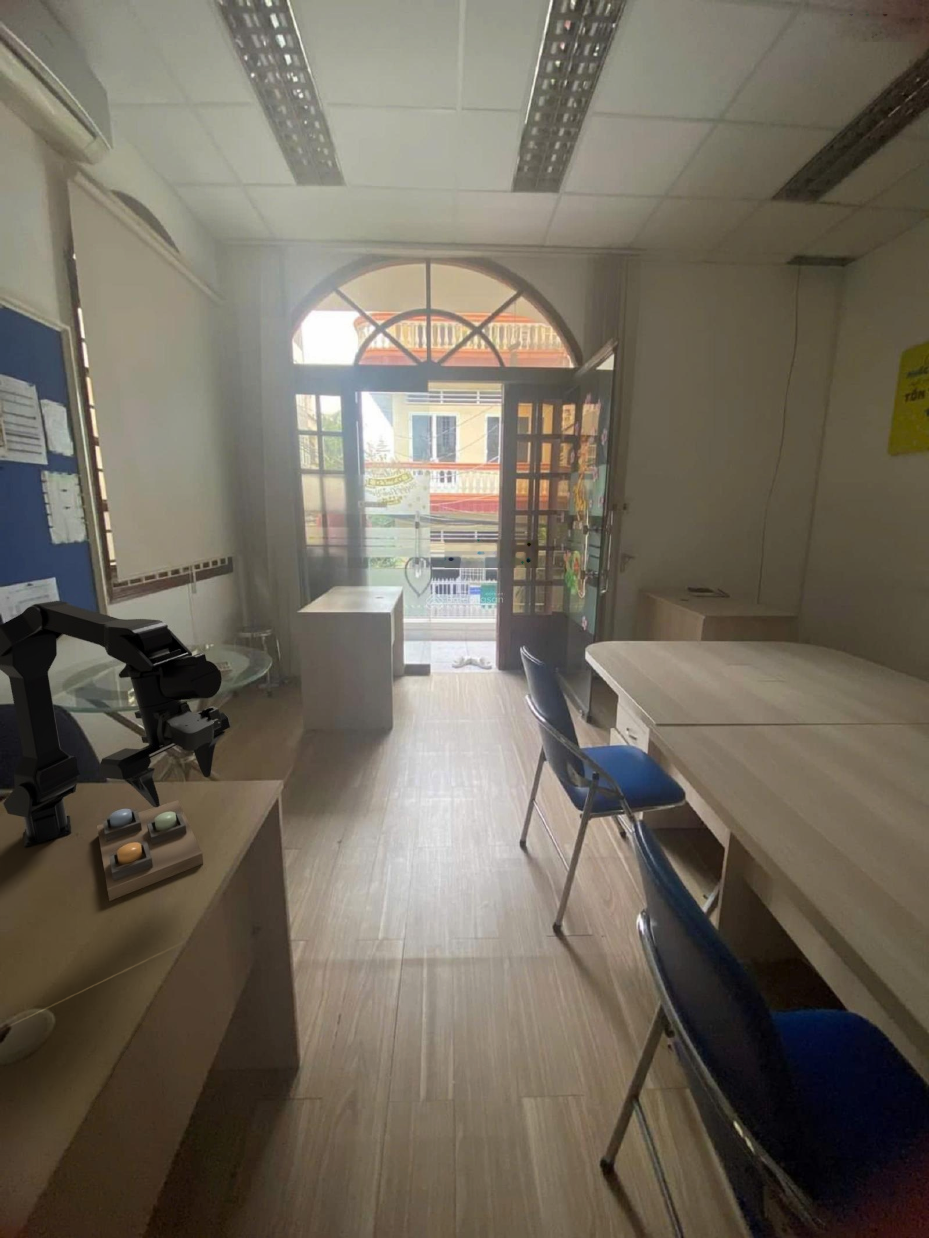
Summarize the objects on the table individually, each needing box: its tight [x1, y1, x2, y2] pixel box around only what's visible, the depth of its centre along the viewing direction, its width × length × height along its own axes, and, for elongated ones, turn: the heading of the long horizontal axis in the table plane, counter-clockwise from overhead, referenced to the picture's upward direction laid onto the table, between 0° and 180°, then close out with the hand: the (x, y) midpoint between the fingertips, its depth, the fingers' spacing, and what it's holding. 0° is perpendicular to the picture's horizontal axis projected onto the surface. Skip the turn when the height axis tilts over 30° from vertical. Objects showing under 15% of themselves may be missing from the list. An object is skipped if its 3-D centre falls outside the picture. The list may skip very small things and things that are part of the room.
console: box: [96, 799, 204, 902], centre depth 85 cm, size 20×13×4 cm, turn 40°
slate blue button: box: [109, 808, 132, 828], centre depth 88 cm, size 3×3×2 cm
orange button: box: [117, 842, 142, 865], centre depth 79 cm, size 3×3×2 cm
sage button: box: [155, 812, 177, 831], centre depth 87 cm, size 3×3×2 cm
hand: (183, 790), depth 80 cm, fingers open, 9 cm apart
